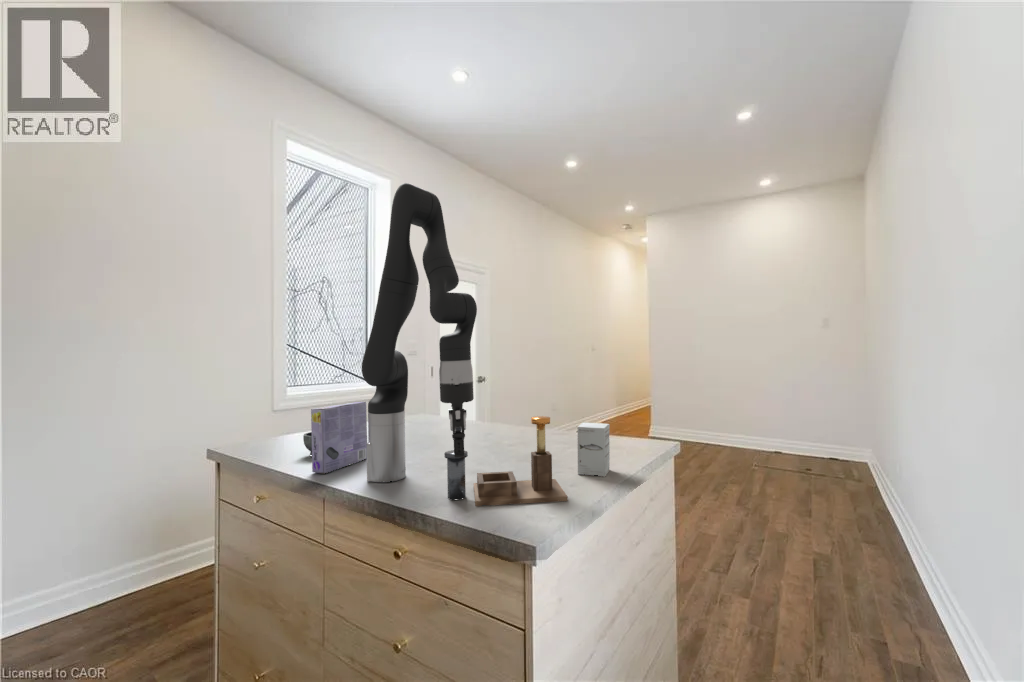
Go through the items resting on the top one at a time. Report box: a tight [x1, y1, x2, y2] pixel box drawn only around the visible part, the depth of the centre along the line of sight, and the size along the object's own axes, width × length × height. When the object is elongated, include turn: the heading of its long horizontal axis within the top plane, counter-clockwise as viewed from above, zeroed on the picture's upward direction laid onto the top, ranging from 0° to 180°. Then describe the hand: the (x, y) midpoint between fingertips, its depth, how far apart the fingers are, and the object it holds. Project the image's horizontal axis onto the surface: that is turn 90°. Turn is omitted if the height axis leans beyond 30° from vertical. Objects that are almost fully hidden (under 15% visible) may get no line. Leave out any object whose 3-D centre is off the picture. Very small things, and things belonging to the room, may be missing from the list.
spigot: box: [444, 449, 468, 500], centre depth 104 cm, size 5×5×10 cm
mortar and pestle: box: [303, 431, 312, 456], centre depth 147 cm, size 11×9×12 cm
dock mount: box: [473, 450, 569, 507], centre depth 106 cm, size 20×13×9 cm, turn 96°
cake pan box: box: [310, 401, 368, 475], centre depth 133 cm, size 19×5×18 cm, turn 159°
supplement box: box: [577, 422, 611, 477], centre depth 122 cm, size 7×7×13 cm
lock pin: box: [530, 415, 551, 455], centre depth 106 cm, size 4×4×10 cm
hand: (459, 452), depth 104 cm, fingers open, 8 cm apart
